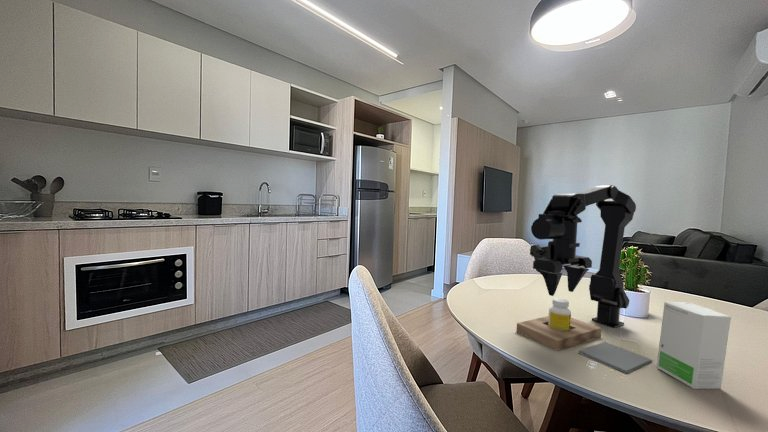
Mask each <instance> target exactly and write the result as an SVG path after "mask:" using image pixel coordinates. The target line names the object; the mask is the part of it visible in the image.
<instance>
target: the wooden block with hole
mask: <svg viewBox="0 0 768 432" xmlns="http://www.w3.org/2000/svg"><path fill="white" fill-rule="evenodd" d="M548 319H549V315H546V316H543V317H538V318H533V319H530V320H525V321H521V322H517V323H516V332H517V333H518V334H520V335H522V336H524V337H527V338H529V339H531V340H534V341H536V342H537V343H540V344H543V345H544V346H547V347H549V348H551V349H553V350H556V351H560V350H563V349H567V348H570V347H572V346H573V347H574V346H576V345H579V344H581V343H585V342H589V341H592V340H594V339H595V340H596V339H598V338H601V336H602V327H600V326H596V325H593V324H590V323H588V322H585V321H582V320H579V319H577V318H574V317H571V321H570V330H567V331H564V332H563V331H560V330H558V329H555V328H553V327H550V326H548Z"/></svg>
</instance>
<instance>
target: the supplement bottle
mask: <svg viewBox="0 0 768 432" xmlns="http://www.w3.org/2000/svg"><path fill="white" fill-rule="evenodd" d="M569 306H570V301H569V300H567V299H564V298H557V297H556V298H552V305H550V306H549V308H548V316H549V319H548V326H550V327H553V328H555V329H558V330H560V331H563V332H564V331H567V330H570V321H571V318H572V311H571V309H570V307H569Z"/></svg>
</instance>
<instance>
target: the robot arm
mask: <svg viewBox="0 0 768 432" xmlns="http://www.w3.org/2000/svg"><path fill="white" fill-rule="evenodd" d="M551 197H552V198H551V199H550V200H549V202H548V204H547V206H546V207H545V209H544V211H543V213H539V214H538V218H536V219H535V220H534V221H533V222H532V225H531V226H530V232H531V234H532V236H533V237H534V238H535V239H537V240H549V241H548V243H547V246H541V245H540V244H533V245H530V248H529V249H530V250H529V255H530V256H531V257H532V258H533V259H534V260H533V262H532V268H533V270H535V271H536V272H537V273H539V274H540V275H541V276H542V277H543V280H544V283H545V286H546V289H547V292H548V295H549V296H550V297H551V296H552V297H554V296H555V294H556V291H557V289H558V286H559V283H560V280H561V278H562V275H563V272H562V270H563V269H564V270H565V272H566V274H567V275H566V276H567V289H568V292H570V293H572V292H575V289H577V287H578V285H579V284H580V282H581V280H582V279H583V277H584V276H585V275H586V273H587V272H588V271H589V269H590V268H592V265H593V260H592V259H591V258H590V257H588V256H581V255H576V252H577V248H579V247H580V246H581V244H580V242H577V235H578V223H582V222H583V221H582V219H581V217H579V216H578V215H580V214H581V213H583V212H584V211H586V208H587V206H591V205H593V204H595V206H596V207H597V208H598V210H599V211H600V213H599V214H600V218H601V220H602V222H603V223H604V232H603V238H602V239H603V240H602V247H601V256H600V262H599V269H598V271H597V272H596V273H595V274H591V276H590V281H589V282H590V283H589V285H588V290H589V296H590V300H591V301H594V302H597V311H596V317H592V318H591V321H594V322H596V323H599V324H602V325H604V326H608V327H611V328H617V327H620V326H624V325H625V323H624V322H622V321H620V315H621V314H620V313H621V312H620V311H621V309H628V307H629V304H630V298H629V297H628V295H627V293H626V291H625V290H624V288H625V287H624V285H625V284H624V281H623V279H622V277H621V275H620V274H619V273H620V272H619V270H620V264H621V259H622V258H621V257H622V256H621V255H622V251H623V250H622V249H623V242H624V234H625V229H626V228H625V227H627V226H628V224H629V223H630V222H632V220H633V219H634V215H635V212H636V210H637V205H636V202H635V201H634V200H633V199H632V197H631V196H630V195H628V194H627V193H625V192H623V191H621V190H619V189H618V187H617V186H615V185H612V184H608V185H606V184H605V185H596V186H594V187H593V188H590V189H589V188H588V189H585V190H582V191H580V192H579V191H578V192H575V193H555V194H554V195H552V196H551Z"/></svg>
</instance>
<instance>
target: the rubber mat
mask: <svg viewBox="0 0 768 432" xmlns="http://www.w3.org/2000/svg"><path fill="white" fill-rule="evenodd" d="M578 354H581V355H584V356H585V357H588V358H590V359H592V360H594V361H595V362H599V363H601V364H603V365H606V366H608V367H610V368H613V369H615V370H617V371H620V372H622V373H624V374H628V373H630V372H633V371H635V370H637V369H639V368H642V367H644V366H646V365H648V364H651V363H652V362H653V361H652V360H653V359H652V358H649V357H647V356H644V355H642V354H639V353H636V352H634V351H631V350H628V349H626V348H623V347H620V346H618V345H616V344H615V345H614V344H612V343H609V342H607V341H603V342H600V343H597V344H594V345H591V346H587V347H585V348H582V349H580V350H578Z"/></svg>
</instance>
